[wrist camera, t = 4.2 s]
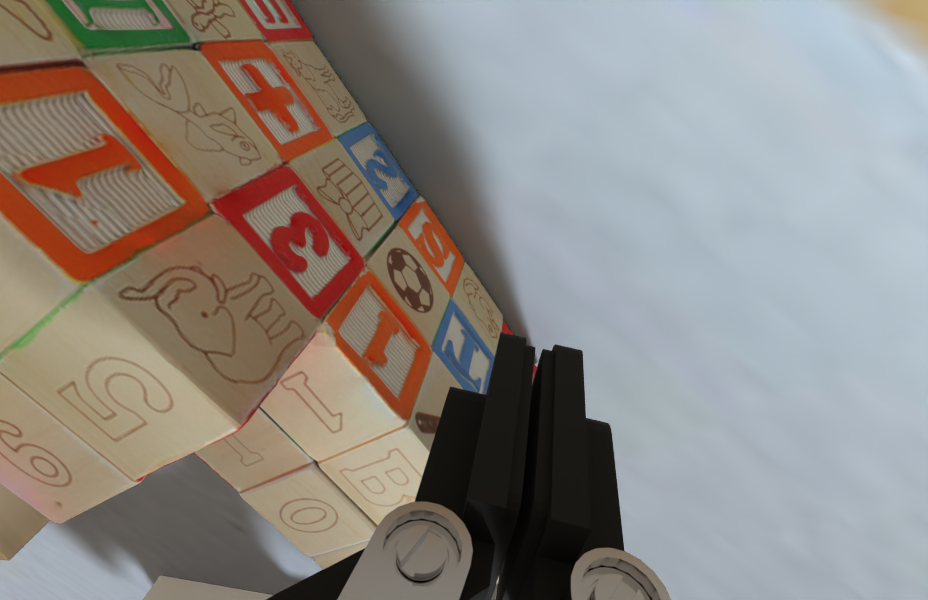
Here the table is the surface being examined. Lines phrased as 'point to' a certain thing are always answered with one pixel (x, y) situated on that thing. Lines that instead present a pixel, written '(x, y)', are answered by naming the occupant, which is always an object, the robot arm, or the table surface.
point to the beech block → (17, 523)
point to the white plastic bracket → (197, 591)
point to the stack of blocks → (216, 270)
